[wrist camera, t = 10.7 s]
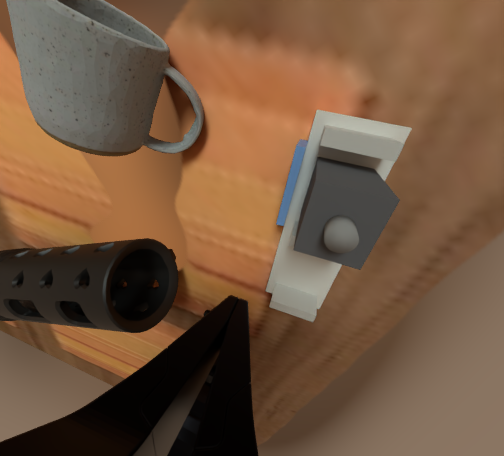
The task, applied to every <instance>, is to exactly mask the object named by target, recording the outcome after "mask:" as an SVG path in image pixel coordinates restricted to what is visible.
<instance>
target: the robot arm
mask: <svg viewBox="0 0 504 456" xmlns="http://www.w3.org/2000/svg"><path fill="white" fill-rule="evenodd" d="M0 456H258V450H257V443H256V436H255V428H254V420H253V409H252V394H251V369H250V343H249V316H248V301H247V300H244V299H241V298H240V299H239V298H238V297H236V296H233V295H230V296H228V297H227V298H226V299H225V300H223V301H222V302H221V303H220V304H219V305H217V306H216V307H215V308H214V309H213V310H211V311H208V310H206V311H205V313H204V317H203V318H202V319H201V320H199V321H198V322H197V323H196V324H195V325H193V326H192V327H191V328H190V329H189V330H187V331H186V332H185V333H184V334H183V335H181V336H180V337H179V338H178V339H176V340H175V341H174V342H173V343H172V344H170V345H169V346H168V349H167V348H166V349H164V350H163V351H162V352H161V353H160V354H158V355H157V356H156V357H155V358H153V359H152V360H151V361H149V362H148V363H147V364H146V365H144V366H143V367H141V368H140V369H139V370H137V371H136V372H134V373H133V374H132V375H130V376H129V377H127V378H126V379H124V380H123V381H121V382H120V383H118V384H117V385H116V386H114V387H113V388H111V389H110V390H108V391H107V392H105V393H104V394H102V395H101V396H99V397H98V398H96V399H95V400H94V401H92V402H90V403H89V404H87V405H86V406H84V407H82V408H81V409H79V410H77V411H75V412H73V413H72V414H69V415H67V416H65V417H63V418H61V419H58V420H56V421H53V422H50V423H48V424H45V425H43V426H40V427H37V428H35V429H33V430H30V431H27V432H25V433H22V434H20V435H17V436H15V437H12V438H10V439H7V440H4V441H2V442H0Z"/></svg>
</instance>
